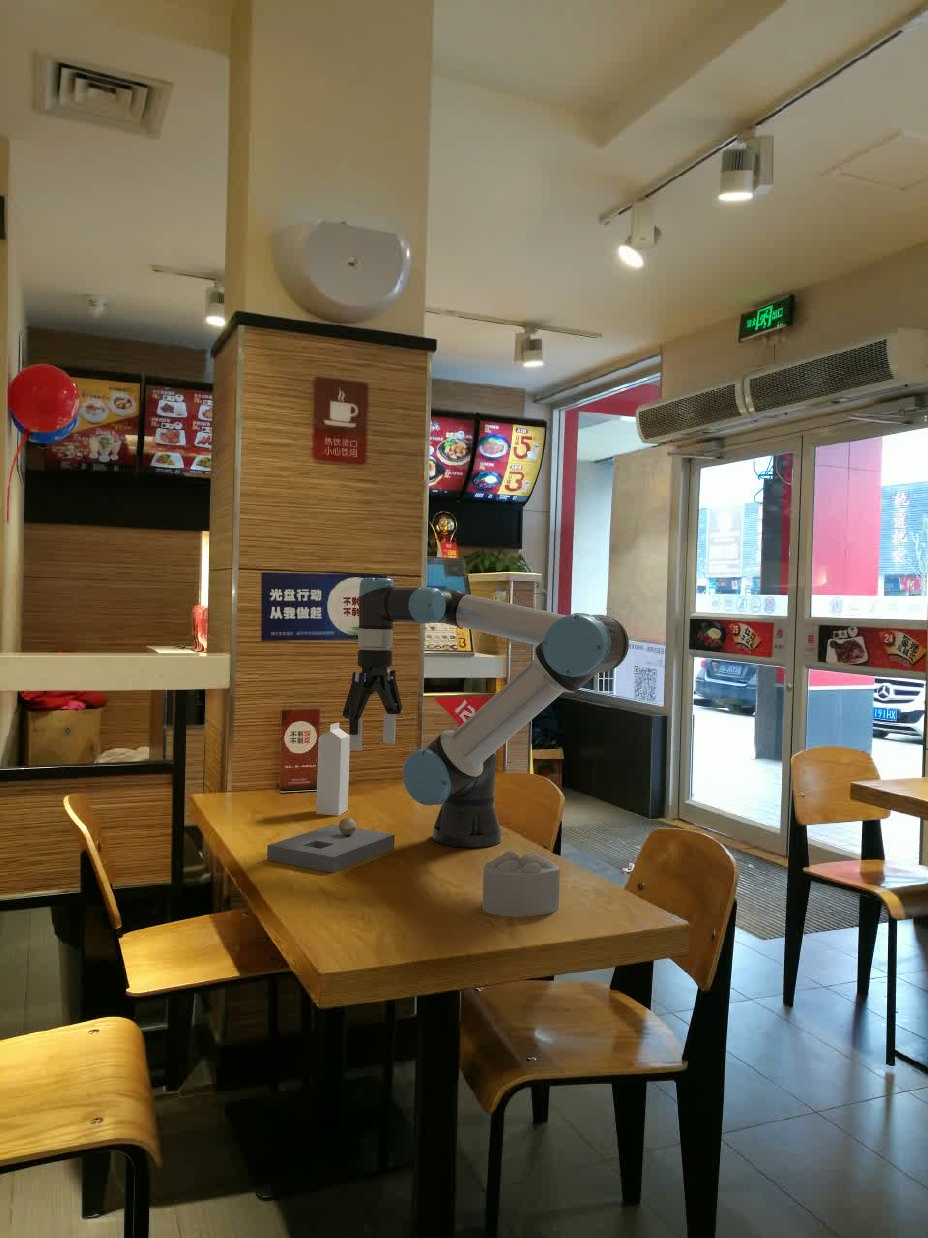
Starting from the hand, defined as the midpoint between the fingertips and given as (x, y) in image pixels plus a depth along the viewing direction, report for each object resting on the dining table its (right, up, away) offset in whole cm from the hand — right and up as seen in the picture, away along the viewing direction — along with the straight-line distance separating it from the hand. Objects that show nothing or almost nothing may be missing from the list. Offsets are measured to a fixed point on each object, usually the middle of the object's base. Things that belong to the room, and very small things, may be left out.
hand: (372, 746), depth 204 cm
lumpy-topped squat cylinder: (+29, -22, -42) cm, 56 cm away
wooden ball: (-5, -16, -8) cm, 18 cm away
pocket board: (-7, -20, -12) cm, 25 cm away
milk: (-13, -20, +27) cm, 36 cm away
